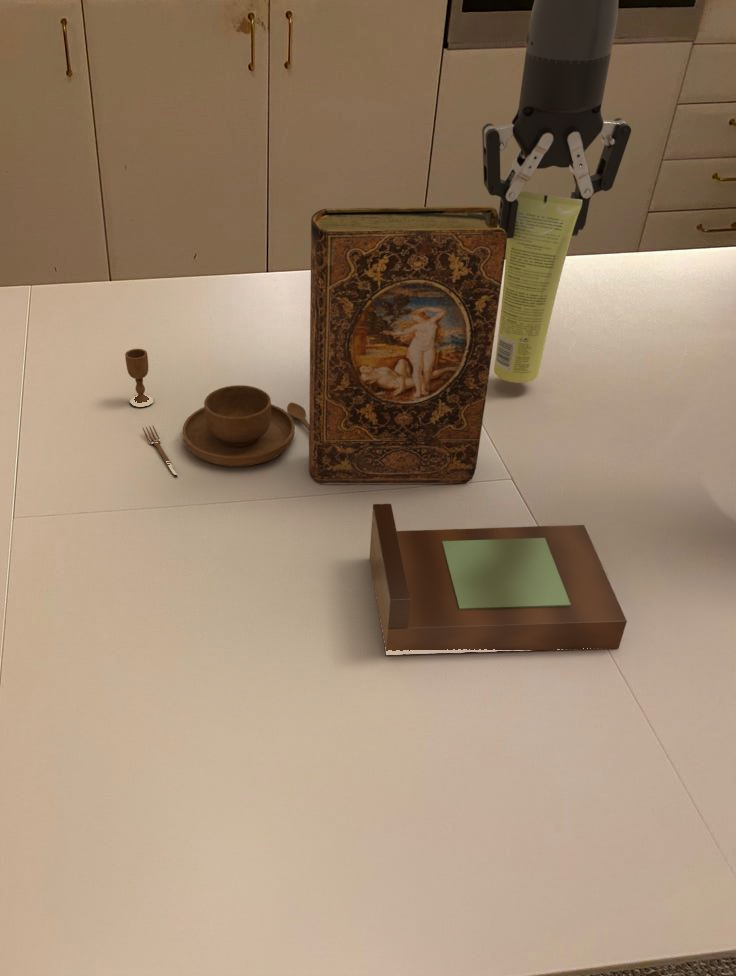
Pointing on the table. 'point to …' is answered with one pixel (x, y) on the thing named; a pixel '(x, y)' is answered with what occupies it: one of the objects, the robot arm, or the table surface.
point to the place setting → (228, 422)
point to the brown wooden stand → (491, 588)
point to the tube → (532, 281)
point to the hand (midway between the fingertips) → (539, 234)
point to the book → (401, 341)
